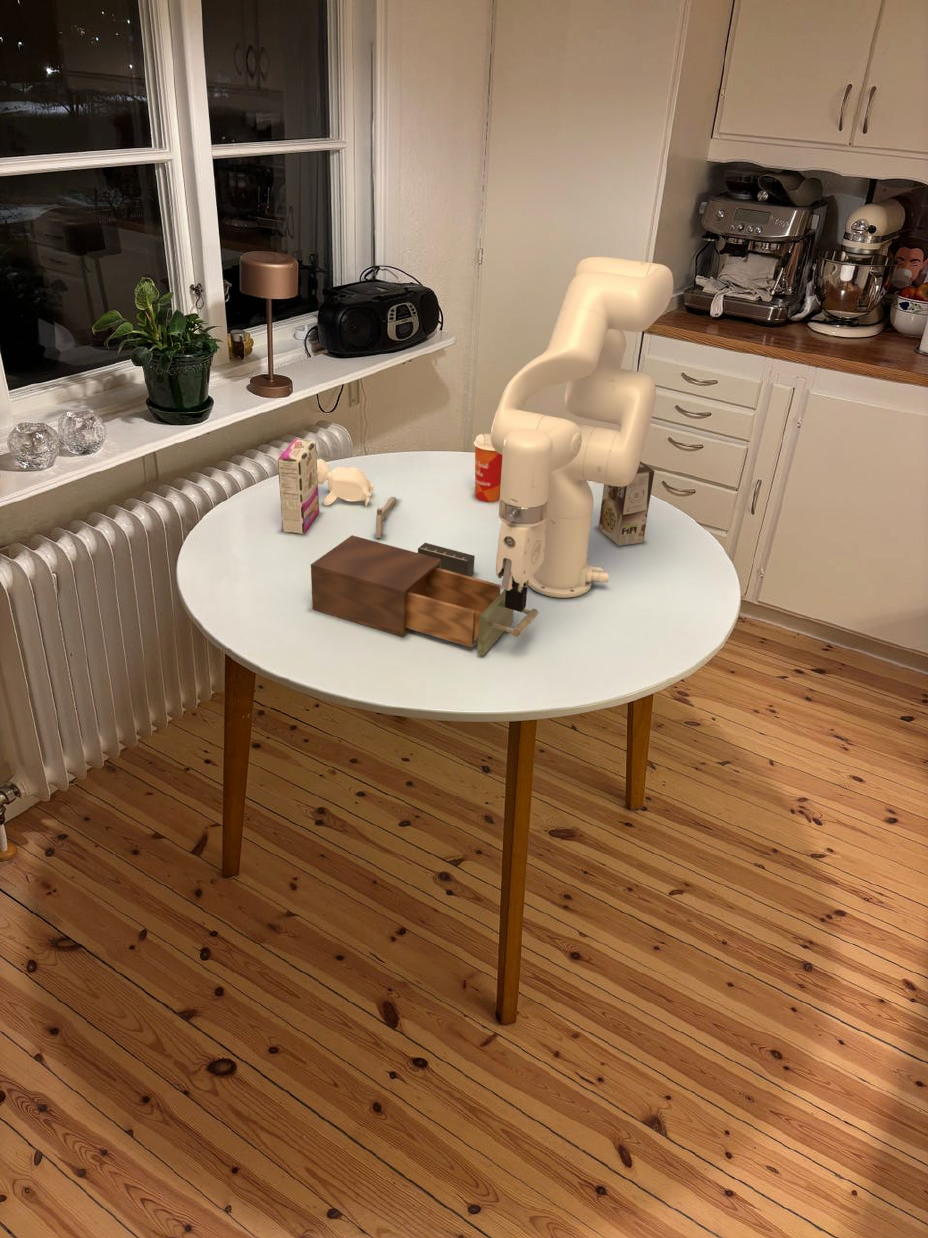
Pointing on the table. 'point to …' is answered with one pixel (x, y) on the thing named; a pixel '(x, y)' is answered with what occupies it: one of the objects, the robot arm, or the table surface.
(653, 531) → the table surface
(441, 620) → the drawer
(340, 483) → the peach plush toy
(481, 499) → the paper cup
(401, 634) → the cabinet
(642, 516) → the coffee box
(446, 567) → the ruler
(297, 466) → the candy bar box
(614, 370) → the robot arm
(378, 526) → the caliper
